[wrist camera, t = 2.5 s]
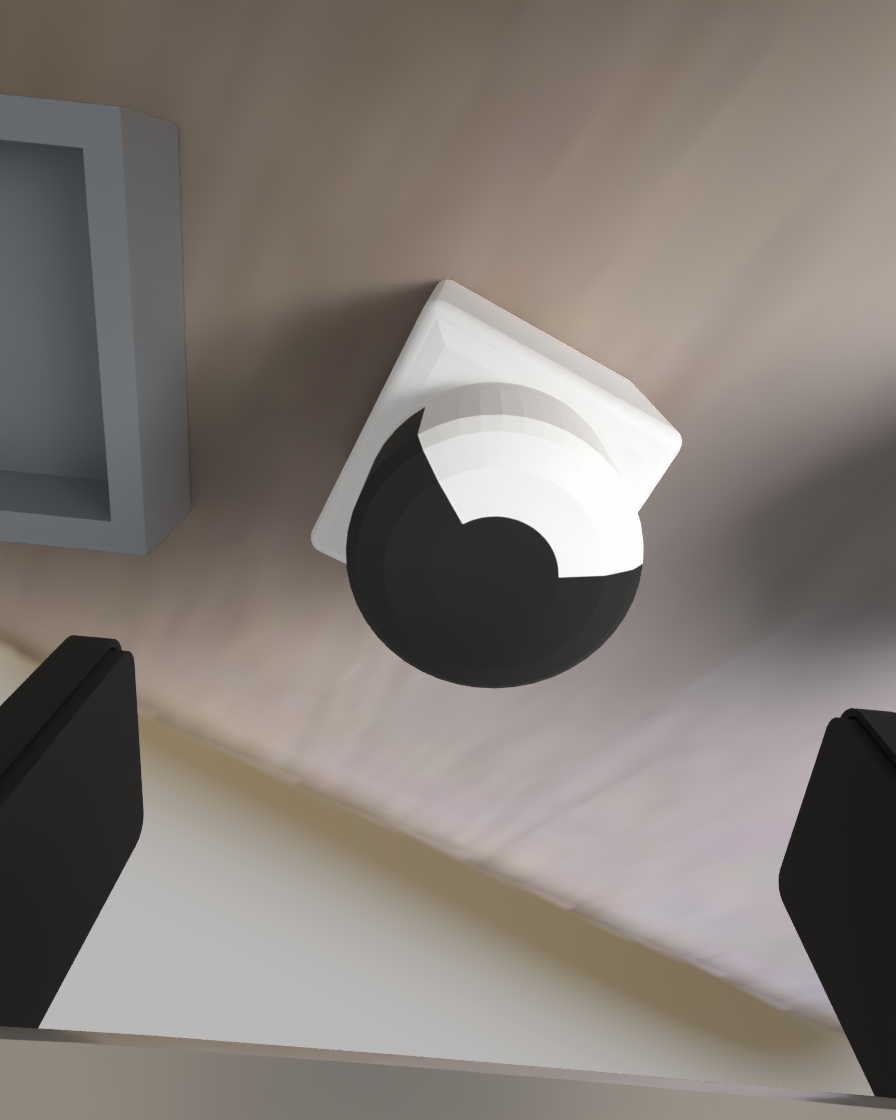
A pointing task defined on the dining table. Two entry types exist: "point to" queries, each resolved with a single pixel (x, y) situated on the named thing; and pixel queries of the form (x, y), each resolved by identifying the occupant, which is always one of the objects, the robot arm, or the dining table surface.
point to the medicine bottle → (495, 498)
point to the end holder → (91, 327)
